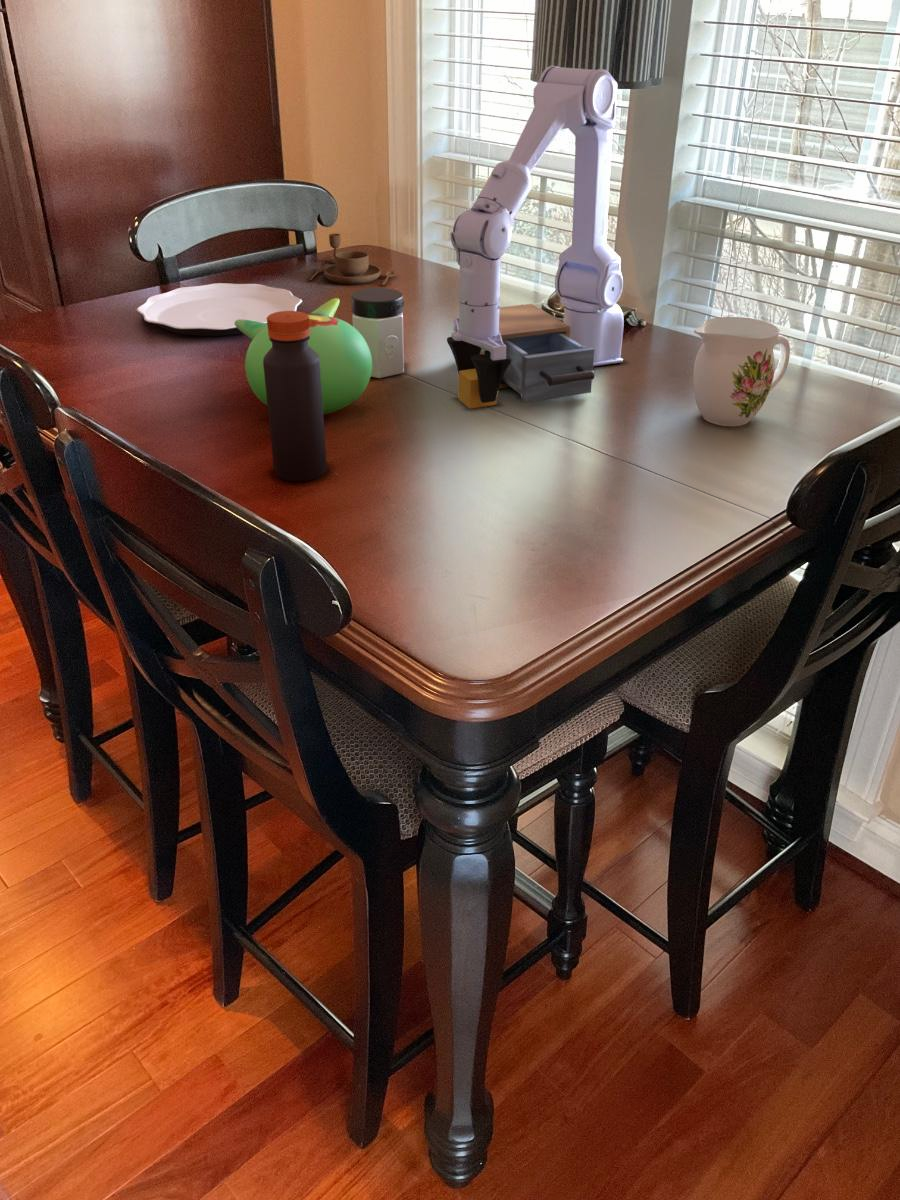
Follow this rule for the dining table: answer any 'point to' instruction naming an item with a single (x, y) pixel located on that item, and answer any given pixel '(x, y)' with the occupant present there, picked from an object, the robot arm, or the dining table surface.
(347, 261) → the place setting
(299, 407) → the bottle
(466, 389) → the block
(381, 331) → the jar
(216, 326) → the plate
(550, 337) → the grey wooden drawer
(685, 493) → the dining table surface
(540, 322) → the wooden drawer box
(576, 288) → the robot arm
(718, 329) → the pitcher
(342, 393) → the toy bird
